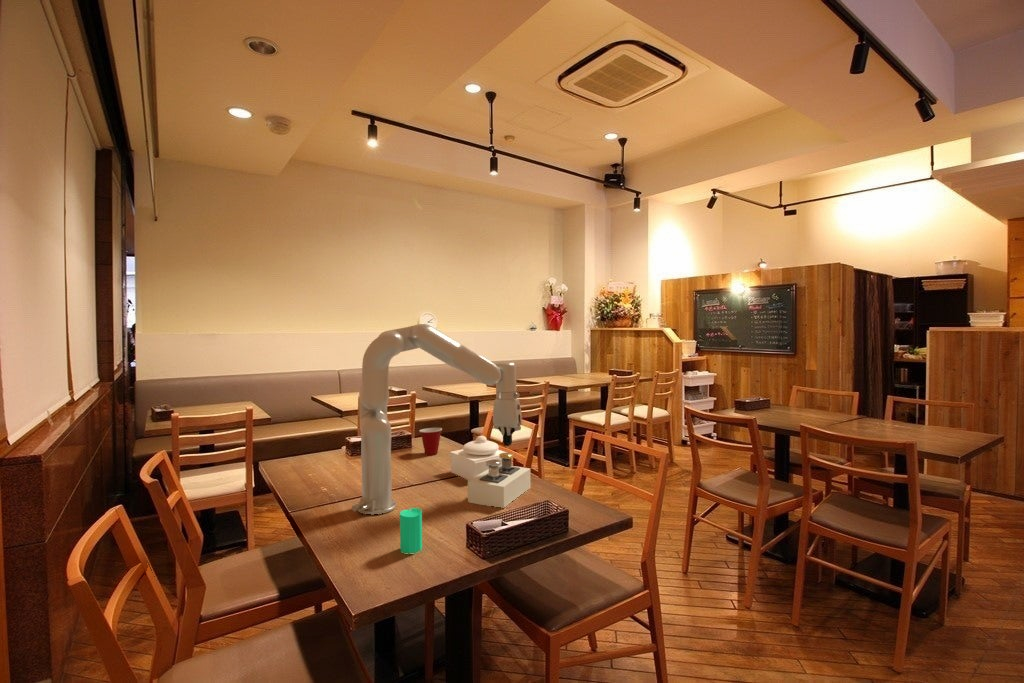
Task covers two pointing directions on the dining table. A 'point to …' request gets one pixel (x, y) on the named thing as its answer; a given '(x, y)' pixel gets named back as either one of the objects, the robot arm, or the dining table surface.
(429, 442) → the plastic cup
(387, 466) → the robot arm
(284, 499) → the dining table surface
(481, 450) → the butter dish
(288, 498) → the dining table surface
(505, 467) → the brass-capped peg
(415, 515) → the candle
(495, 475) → the grey peg
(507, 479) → the socket block
